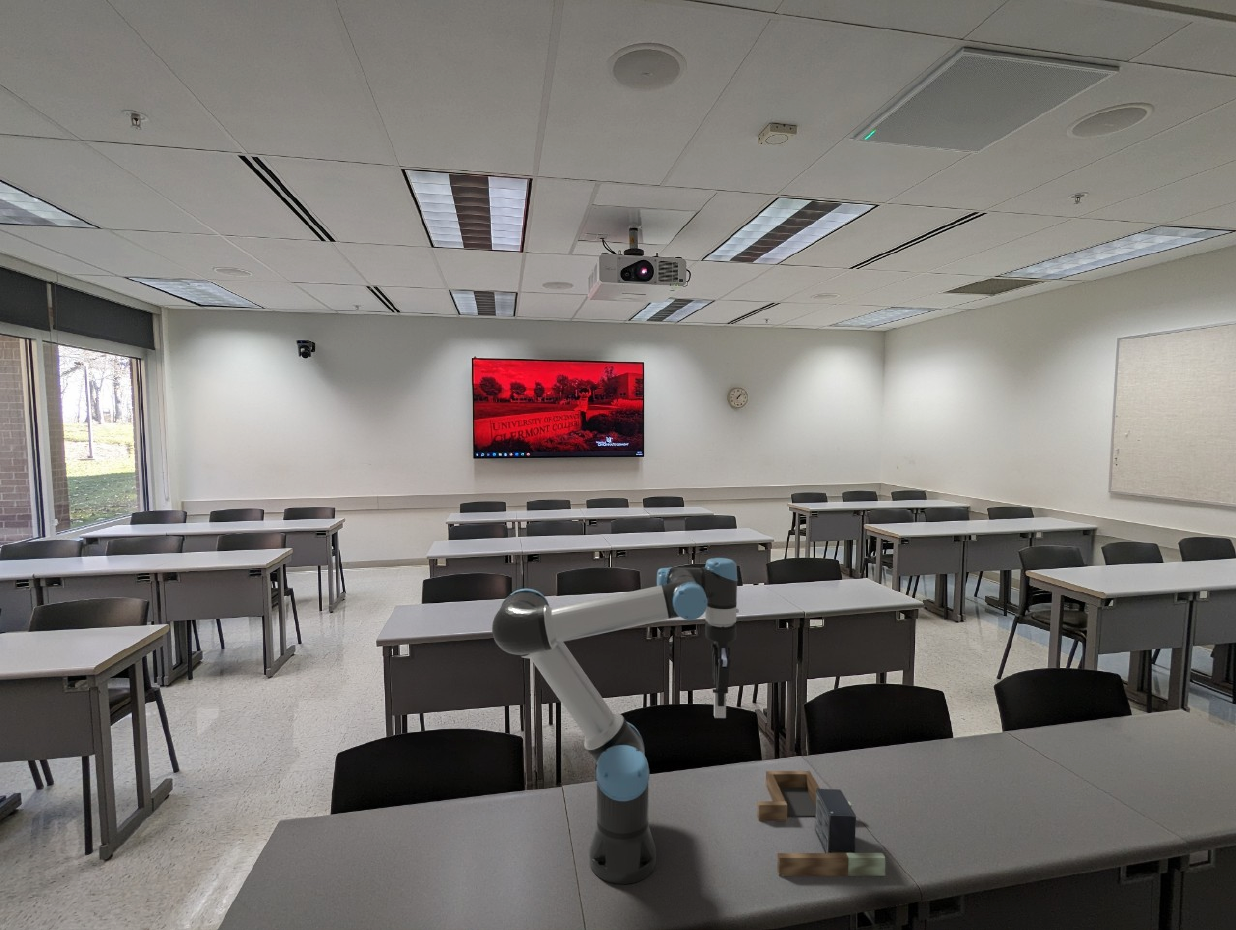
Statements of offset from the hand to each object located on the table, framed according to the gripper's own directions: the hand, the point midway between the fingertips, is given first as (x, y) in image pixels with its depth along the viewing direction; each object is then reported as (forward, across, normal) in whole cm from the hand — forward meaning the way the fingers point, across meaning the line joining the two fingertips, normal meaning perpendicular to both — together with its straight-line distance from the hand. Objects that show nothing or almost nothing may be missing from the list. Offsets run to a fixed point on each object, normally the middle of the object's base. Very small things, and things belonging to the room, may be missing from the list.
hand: (719, 716), depth 147 cm
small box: (+27, -9, -26) cm, 38 cm away
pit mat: (+26, +7, -21) cm, 35 cm away
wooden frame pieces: (+26, -2, -21) cm, 34 cm away
